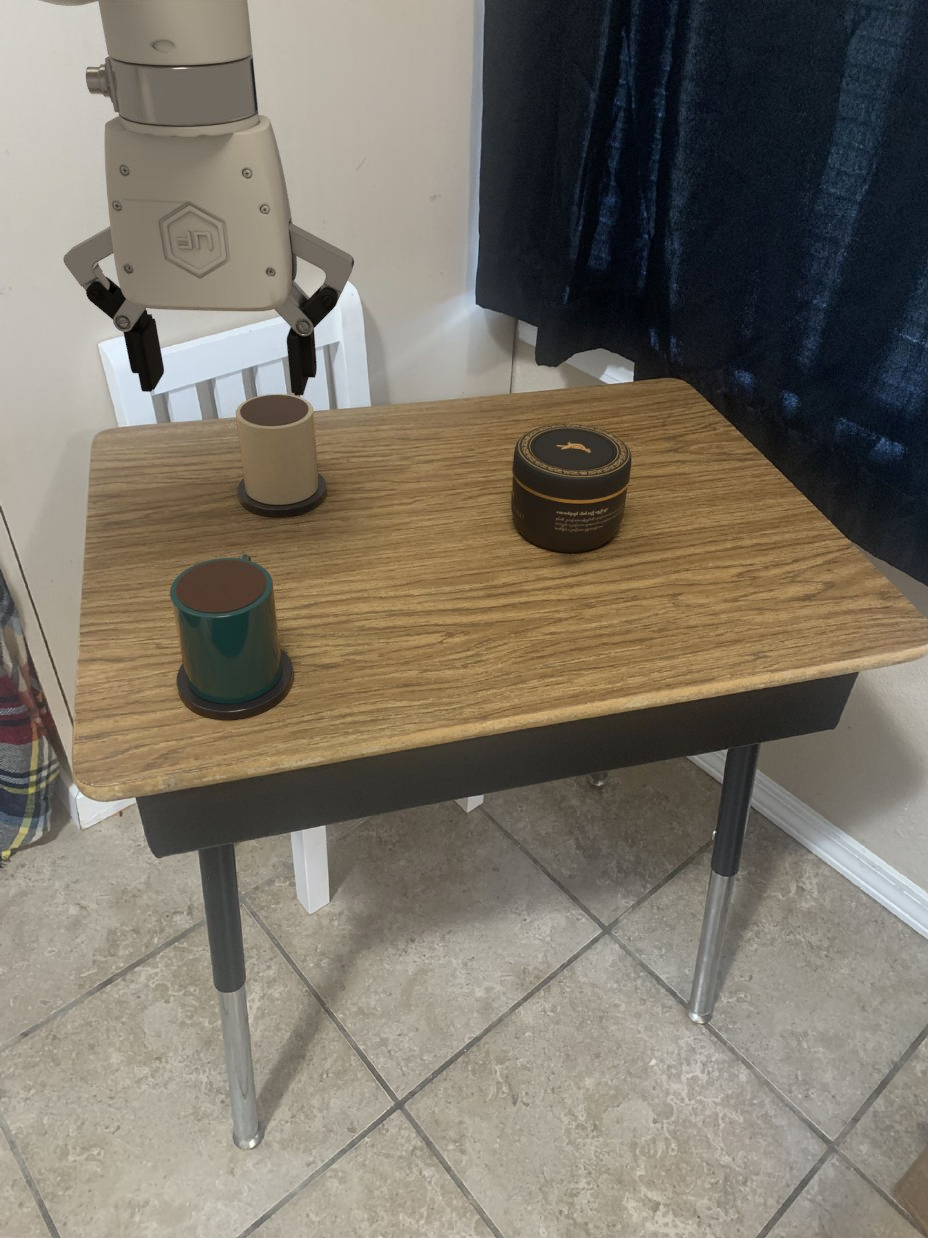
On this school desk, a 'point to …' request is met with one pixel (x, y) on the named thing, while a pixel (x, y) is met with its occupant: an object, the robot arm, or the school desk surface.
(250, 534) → the school desk surface
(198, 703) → the saucer front
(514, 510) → the jar
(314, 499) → the dark grey round coaster
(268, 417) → the cup back
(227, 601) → the cup front
